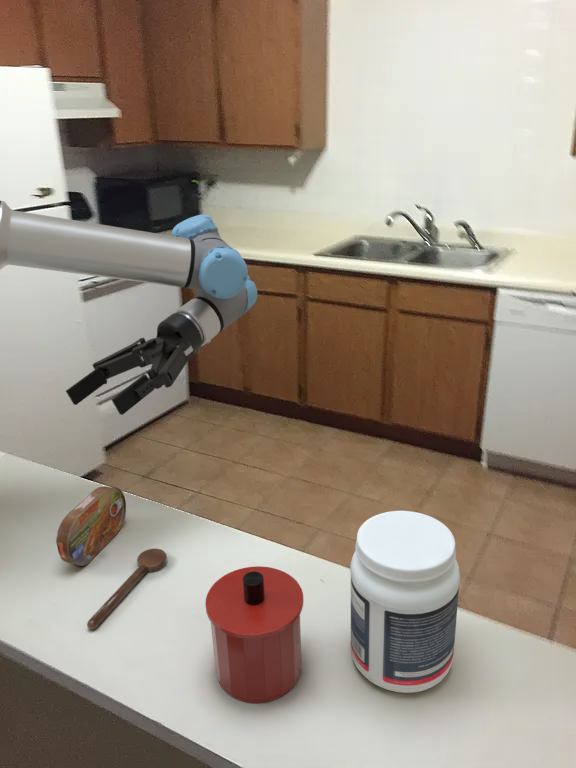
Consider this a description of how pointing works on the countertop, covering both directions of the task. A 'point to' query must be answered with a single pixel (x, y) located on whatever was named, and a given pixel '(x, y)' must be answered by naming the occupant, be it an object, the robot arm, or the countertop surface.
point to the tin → (91, 525)
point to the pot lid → (254, 602)
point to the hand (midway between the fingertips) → (92, 402)
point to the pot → (258, 664)
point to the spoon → (130, 582)
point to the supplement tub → (404, 601)
